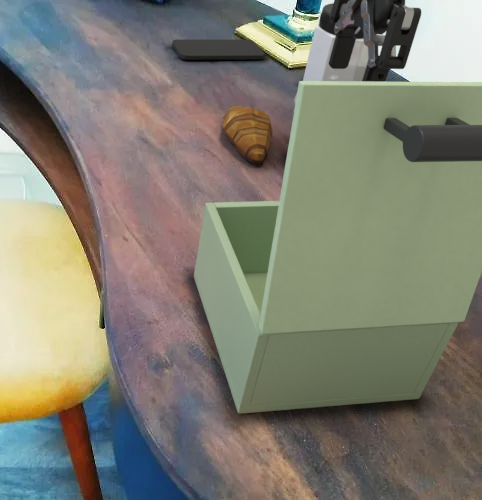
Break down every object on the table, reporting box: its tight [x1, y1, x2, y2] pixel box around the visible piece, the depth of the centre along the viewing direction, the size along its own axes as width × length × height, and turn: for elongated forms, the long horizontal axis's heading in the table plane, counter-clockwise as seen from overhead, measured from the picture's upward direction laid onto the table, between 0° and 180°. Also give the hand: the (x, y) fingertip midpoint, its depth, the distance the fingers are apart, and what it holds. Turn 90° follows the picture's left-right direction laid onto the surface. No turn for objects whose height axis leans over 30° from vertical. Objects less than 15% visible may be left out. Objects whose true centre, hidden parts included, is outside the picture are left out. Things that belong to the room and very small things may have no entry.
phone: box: [171, 38, 265, 61], centre depth 110 cm, size 7×1×15 cm
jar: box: [302, 2, 368, 81], centre depth 99 cm, size 9×8×12 cm
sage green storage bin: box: [193, 200, 459, 415], centre depth 56 cm, size 17×16×9 cm
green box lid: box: [259, 80, 482, 334], centre depth 40 cm, size 17×16×5 cm
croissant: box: [221, 104, 273, 165], centre depth 85 cm, size 14×7×5 cm, turn 7°
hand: (351, 82), depth 73 cm, fingers open, 8 cm apart
